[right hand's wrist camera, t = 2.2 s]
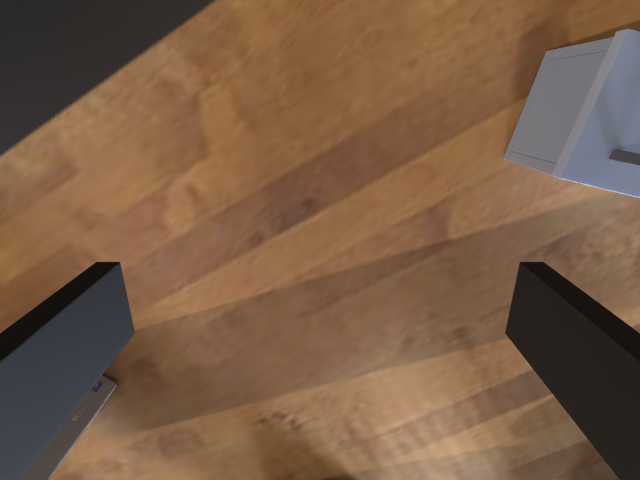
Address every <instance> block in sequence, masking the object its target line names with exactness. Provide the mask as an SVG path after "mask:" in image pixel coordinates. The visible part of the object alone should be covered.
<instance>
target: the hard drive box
mask: <svg viewBox="0 0 640 480" xmlns="http://www.w3.org/2000/svg"><path fill="white" fill-rule="evenodd" d="M116 387H117V385H116V384H115V382H113V381H111V380H110V379H108V378H106V377H104V376H101V377H100V378H99V379H98V381H97V382H96V383H95V385H94V386H93V387H92V388H91V390H90V391H89V392H88V394H87V395H86V396H85V397H84V399H83V400H82V401H81V402H80V404H79V405H78V406H77V408H76V409H75V410H74V411H73V413H72V414H71V415H70V417H69V418H68V419H67V420H66V422H65V423H64V424H63V425H62V427H61V428H60V429H59V431H58V432H57V433H56V434H55V436H54V437H53V438H52V440H51V441H50V442H49V443H48V445H47V446H46V447H45V448H44V450H43V451H42V452H41V454H40V455H39V456H38V457H37V459H36V460H35V461H34V463H33V464H32V465H31V466H30V468H29V469H28V470H27V472H26V473H25V474H24V475H23V477H22V478H21V479H20V480H50V478H51V477H52V476H53V474H54V473H55V471H56V470H57V469H58V467H59V466H60V465H61V463H62V462H63V460H64V459H65V458H66V456H67V455H68V454H69V452H70V451H71V449H72V448H73V447H74V445H75V444H76V443H77V441H78V440H79V438H80V437H81V436H82V434H83V433H84V432H85V430H86V429H87V427H88V426H89V425H90V423H91V422H92V421H93V419H94V418H95V416H96V415H97V414H98V412H99V411H100V410H101V408H102V407H103V405H104V404H105V403H106V401H107V400H108V399H109V397H110V396H111V394H112V393H113V391H114V390H115V388H116Z"/></svg>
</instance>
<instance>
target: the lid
mask: <svg viewBox="0 0 640 480" xmlns="http://www.w3.org/2000/svg"><path fill="white" fill-rule="evenodd" d="M552 176H554V177H557V178H560V179H564V180H568V181H572V182H576V183H580V184H585V185H589V186H593V187H597V188H601V189H605V190H609V191H613V192H617V193H621V194H625V195H630V196H634V197H638V198H640V31H637V30H633V29H630V28H628V29H624V30H620V31H617V32H616V34H615V36H614V38H613V40H612V42H611V45H610V47H609V49H608V51H607V53H606V56H605V58H604V60H603V62H602V64H601V67H600V69H599V71H598V73H597V75H596V78H595V80H594V82H593V84H592V86H591V89H590V91H589V93H588V95H587V97H586V100H585V102H584V104H583V106H582V109H581V111H580V113H579V115H578V117H577V120H576V122H575V124H574V126H573V128H572V131H571V133H570V135H569V137H568V139H567V142H566V144H565V146H564V148H563V150H562V153H561V155H560V157H559V159H558V161H557V164H556V166H555V168H554V170H553V172H552Z"/></svg>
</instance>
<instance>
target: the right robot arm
mask: <svg viewBox="0 0 640 480" xmlns="http://www.w3.org/2000/svg"><path fill="white" fill-rule="evenodd" d="M134 333H135V332H134V327H133V322H132V317H131V313H130V308H129V303H128V298H127V293H126V289H125V284H124V279H123V274H122V270H121V265H120V262H96V263H95V264H93V265H92V266H91V267H89V268H88V269H87V270H85V271H84V272H83V273H81V274H80V275H78V276H77V277H76V278H74V279H73V280H72V281H70V282H69V283H68V284H66V285H65V286H64V287H62V288H61V289H60V290H58V291H57V292H56V293H54V294H53V295H52V296H50V297H49V298H47V299H46V300H45V301H43V302H42V303H41V304H39V305H38V306H37V307H35V308H34V309H33V310H31V311H30V312H29V313H27V314H26V315H25V316H23V317H22V318H20V319H19V320H18V321H16V322H15V323H14V324H12V325H11V326H10V327H8V328H7V329H6V330H4V331H3V332H2V333H0V480H20V479H21V478H22V477H23V475H24V474H25V473H26V472H27V470H28V469H29V468H30V466H31V465H32V464H33V463H34V461H35V460H36V459H37V457H38V456H39V455H40V454H41V452H42V451H43V450H44V448H45V447H46V446H47V445H48V443H49V442H50V441H51V440H52V438H53V437H54V436H55V434H56V433H57V432H58V431H59V429H60V428H61V427H62V425H63V424H64V423H65V422H66V420H67V419H68V418H69V417H70V415H71V414H72V413H73V411H74V410H75V409H76V408H77V406H78V405H79V404H80V402H81V401H82V400H83V399H84V397H85V396H86V395H87V394H88V392H89V391H90V390H91V388H92V387H93V386H94V385H95V383H96V382H97V381H98V379H99V378H100V377H101V376H102V374H103V373H104V372H105V371H106V369H107V368H108V367H109V365H110V364H111V363H112V362H113V360H114V359H115V358H116V356H117V355H118V354H119V353H120V351H121V350H122V349H123V348H124V346H125V345H126V344H127V342H128V341H129V340H130V339H131V337H132V336H133V335H134ZM505 333H506V335H507V336H508V337H509V339H510V340H511V341H512V342H513V344H514V345H515V346H516V348H517V349H518V350H519V351H520V353H521V354H522V355H523V356H524V358H525V359H526V360H527V362H528V363H529V364H530V365H531V367H532V368H533V369H534V371H535V372H536V373H537V374H538V376H539V377H540V378H541V379H542V381H543V382H544V383H545V385H546V386H547V387H548V388H549V390H550V391H551V392H552V394H553V395H554V396H555V397H556V399H557V400H558V401H559V402H560V404H561V405H562V406H563V408H564V409H565V410H566V411H567V413H568V414H569V415H570V417H571V418H572V419H573V420H574V422H575V423H576V424H577V425H578V427H579V428H580V429H581V431H582V432H583V433H584V434H585V436H586V437H587V438H588V440H589V441H590V442H591V443H592V445H593V446H594V447H595V448H596V450H597V451H598V452H599V454H600V455H601V456H602V457H603V459H604V460H605V461H606V463H607V464H608V465H609V466H610V468H611V469H612V470H613V472H614V473H615V474H616V475H617V477H618V478H619V479H620V480H640V333H638V332H637V331H636V330H634V329H633V328H632V327H630V326H629V325H628V324H626V323H625V322H624V321H622V320H621V319H620V318H618V317H617V316H615V315H614V314H613V313H611V312H610V311H609V310H607V309H606V308H605V307H603V306H602V305H601V304H599V303H598V302H597V301H595V300H594V299H593V298H591V297H590V296H588V295H587V294H586V293H584V292H583V291H582V290H580V289H579V288H578V287H576V286H575V285H574V284H572V283H571V282H570V281H568V280H567V279H566V278H564V277H563V276H562V275H560V274H559V273H557V272H556V271H555V270H553V269H552V268H551V267H549V266H548V265H547V264H545V263H544V262H520V265H519V270H518V274H517V279H516V284H515V289H514V293H513V298H512V303H511V308H510V313H509V317H508V322H507V327H506V332H505Z"/></svg>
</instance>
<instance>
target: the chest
mask: <svg viewBox="0 0 640 480" xmlns="http://www.w3.org/2000/svg"><path fill="white" fill-rule="evenodd" d="M613 38H614V37H610V38H606V39H601V40H596V41H591V42H587V43H582V44H577V45H572V46H567V47H563V48H558V49H553V50H548V51H546V53H545V56H544V58H543V61H542V63H541V66H540V68H539V70H538V73H537V75H536V78H535V80H534V83H533V85H532V88H531V90H530V93H529V95H528V98H527V100H526V103H525V105H524V108H523V110H522V113H521V115H520V118H519V120H518V123H517V125H516V128H515V130H514V133H513V135H512V138H511V140H510V143H509V145H508V148H507V150H506V153H505V155H504V158H503V159H505V160H508V161H511V162H514V163H517V164H520V165H523V166H526V167H529V168H532V169H535V170H538V171H541V172H544V173H547V174H550V175H552V172H553V170H554V168H555V166H556V164H557V161H558V159H559V157H560V155H561V153H562V150H563V148H564V146H565V144H566V142H567V139H568V137H569V135H570V133H571V131H572V128H573V126H574V124H575V122H576V120H577V117H578V115H579V113H580V111H581V109H582V106H583V104H584V102H585V100H586V97H587V95H588V93H589V91H590V89H591V86H592V84H593V82H594V80H595V78H596V75H597V73H598V71H599V69H600V67H601V64H602V62H603V60H604V58H605V56H606V53H607V51H608V49H609V47H610V45H611V42H612V40H613Z"/></svg>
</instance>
